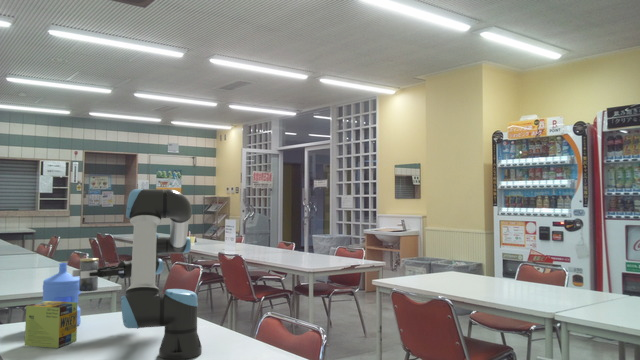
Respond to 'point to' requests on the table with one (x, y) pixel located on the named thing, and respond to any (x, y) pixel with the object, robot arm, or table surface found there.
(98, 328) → the table surface
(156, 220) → the robot arm
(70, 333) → the protein box
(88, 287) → the gold and gray tin
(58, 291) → the water jug
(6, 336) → the table surface
